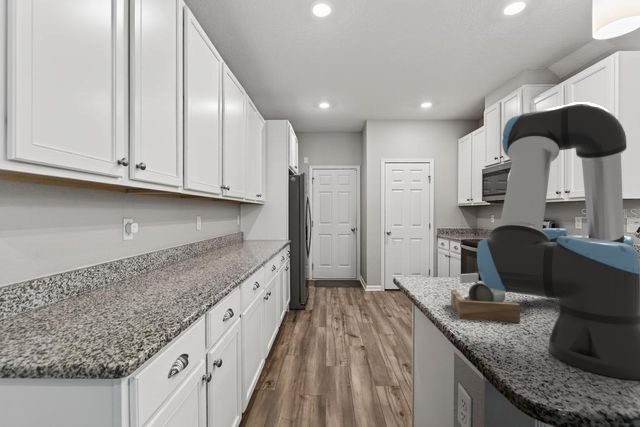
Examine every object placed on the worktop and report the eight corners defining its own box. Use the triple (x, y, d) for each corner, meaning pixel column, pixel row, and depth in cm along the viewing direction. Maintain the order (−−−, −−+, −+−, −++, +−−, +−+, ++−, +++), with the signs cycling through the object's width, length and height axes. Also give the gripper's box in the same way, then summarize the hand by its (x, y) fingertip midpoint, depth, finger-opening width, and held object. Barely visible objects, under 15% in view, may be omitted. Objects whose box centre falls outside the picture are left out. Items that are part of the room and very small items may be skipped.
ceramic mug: (507, 307, 90) (506, 281, 90) (494, 312, 85) (493, 285, 85) (472, 300, 99) (471, 276, 99) (458, 304, 94) (458, 279, 94)
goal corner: (522, 322, 78) (522, 304, 78) (460, 318, 82) (460, 301, 82) (500, 304, 94) (500, 290, 95) (449, 301, 98) (449, 287, 98)
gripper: (571, 299, 84) (511, 306, 78) (499, 282, 107) (448, 286, 101) (571, 272, 84) (510, 277, 78) (499, 261, 107) (447, 264, 101)
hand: (475, 282), depth 89 cm, fingers open, 11 cm apart
